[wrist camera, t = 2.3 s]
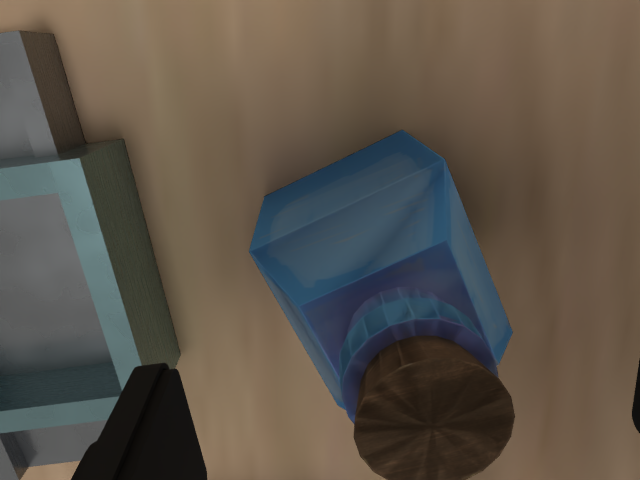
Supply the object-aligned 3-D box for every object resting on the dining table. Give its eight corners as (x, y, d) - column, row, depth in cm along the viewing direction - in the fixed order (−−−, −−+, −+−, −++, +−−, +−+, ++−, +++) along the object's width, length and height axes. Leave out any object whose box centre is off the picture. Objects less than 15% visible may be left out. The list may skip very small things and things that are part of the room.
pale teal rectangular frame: (94, 28, 18) (37, 20, 14) (198, 423, 24) (179, 491, 20) (-176, 65, 18) (-303, 66, 14) (-1, 448, 24) (-58, 520, 20)
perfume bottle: (402, 129, 19) (539, 225, 8) (455, 258, 21) (625, 477, 10) (264, 196, 20) (215, 368, 9) (328, 314, 22) (355, 576, 11)
